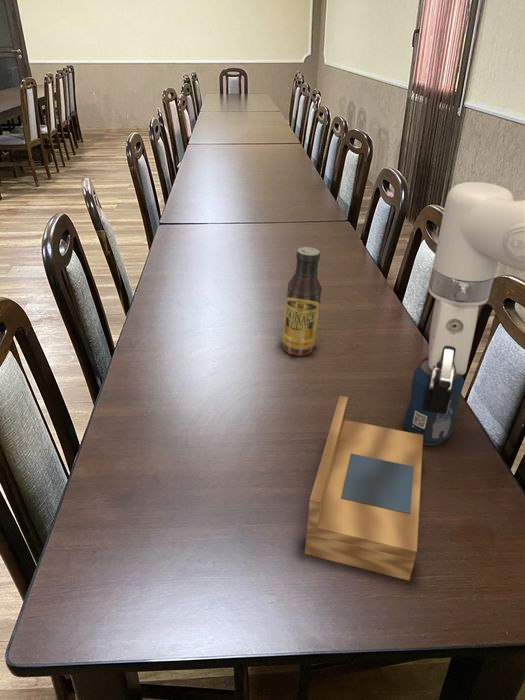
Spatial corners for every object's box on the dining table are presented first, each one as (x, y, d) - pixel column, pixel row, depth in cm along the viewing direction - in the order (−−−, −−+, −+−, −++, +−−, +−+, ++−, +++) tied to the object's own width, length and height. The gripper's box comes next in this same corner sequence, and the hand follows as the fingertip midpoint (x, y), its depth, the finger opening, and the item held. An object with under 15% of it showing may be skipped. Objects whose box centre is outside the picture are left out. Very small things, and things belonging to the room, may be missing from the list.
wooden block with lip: (417, 461, 76) (428, 411, 72) (409, 580, 60) (423, 525, 55) (333, 444, 79) (339, 395, 74) (304, 554, 63) (309, 499, 58)
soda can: (417, 412, 86) (431, 348, 80) (457, 433, 82) (475, 367, 76) (393, 432, 82) (406, 366, 76) (435, 454, 78) (452, 387, 72)
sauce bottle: (278, 355, 100) (283, 254, 90) (285, 339, 106) (290, 242, 95) (313, 360, 99) (322, 258, 89) (318, 343, 104) (327, 246, 94)
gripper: (496, 317, 61) (462, 438, 70) (486, 262, 75) (459, 368, 85) (428, 308, 63) (404, 426, 72) (431, 256, 77) (411, 360, 86)
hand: (434, 394), depth 78 cm, fingers closed on soda can, 7 cm apart
